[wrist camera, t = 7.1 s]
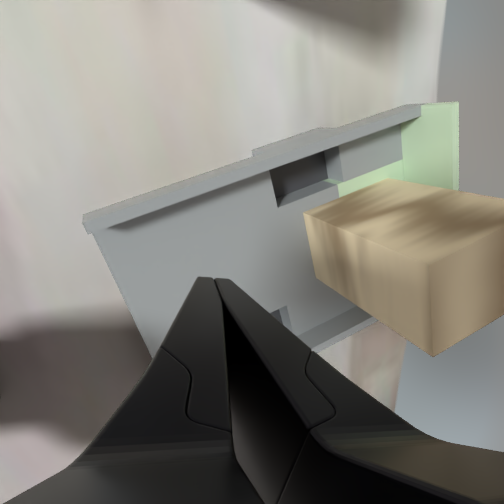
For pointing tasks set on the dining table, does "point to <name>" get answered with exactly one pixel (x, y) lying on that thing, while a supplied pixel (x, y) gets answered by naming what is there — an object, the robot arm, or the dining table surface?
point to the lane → (268, 221)
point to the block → (414, 258)
